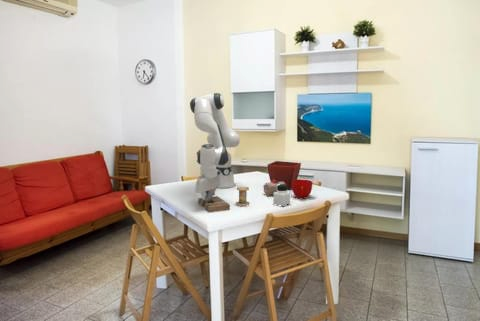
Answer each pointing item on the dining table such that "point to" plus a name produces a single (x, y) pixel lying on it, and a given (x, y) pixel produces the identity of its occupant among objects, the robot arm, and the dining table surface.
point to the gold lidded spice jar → (208, 196)
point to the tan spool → (242, 196)
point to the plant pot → (284, 172)
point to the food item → (271, 187)
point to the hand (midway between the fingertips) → (208, 197)
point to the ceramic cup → (301, 188)
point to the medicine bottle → (281, 195)
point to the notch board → (214, 204)
